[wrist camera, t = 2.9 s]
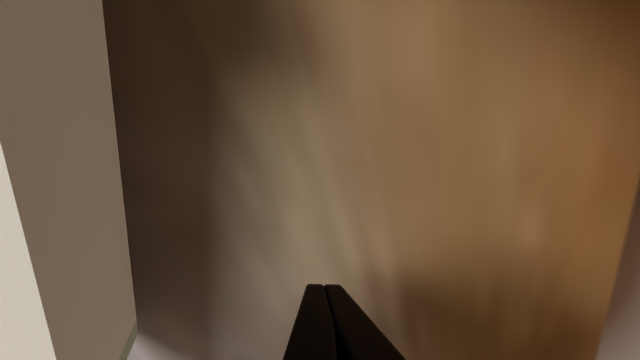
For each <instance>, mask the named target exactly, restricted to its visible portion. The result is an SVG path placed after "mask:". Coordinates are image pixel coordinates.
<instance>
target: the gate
mask: <svg viewBox="0 0 640 360" xmlns="http://www.w3.org/2000/svg"><path fill="white" fill-rule="evenodd" d="M137 334H138V328H137V319H136V310H135V301H134V292H133V282H132V273H131V264H130V255H129V246H128V237H127V227H126V218H125V209H124V200H123V191H122V181H121V172H120V163H119V154H118V145H117V135H116V126H115V117H114V108H113V99H112V89H111V80H110V71H109V62H108V53H107V44H106V34H105V25H104V16H103V7H102V0H0V360H127V358H128V355H129V353H130V350H131V348H132V346H133V343H134V341H135V338H136V336H137Z"/></svg>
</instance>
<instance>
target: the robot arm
mask: <svg viewBox="0 0 640 360" xmlns="http://www.w3.org/2000/svg"><path fill="white" fill-rule="evenodd" d="M283 360H406V359H405V358H404V357H403V356H402V355H401V354H400V353H399V351H398V350H397V349H396V348H395V347H394V346H393V345H392V343H391V342H390V341H389V340H388V339H387V338H386V337H385V335H384V334H383V333H382V332H381V331H380V330H379V329H378V327H377V326H376V325H375V324H374V323H373V322H372V321H371V319H370V318H369V317H368V316H367V315H366V314H365V313H364V311H363V310H362V309H361V308H360V307H359V306H358V304H357V303H356V302H355V301H354V300H353V299H352V298H351V296H350V295H349V294H348V293H347V292H346V291H345V290H344V288H343V287H342V286H340V285H336V284H326V285H324V286H323V285H322V284H308V285H307V286H306V289H305V292H304V295H303V298H302V301H301V304H300V307H299V311H298V314H297V317H296V320H295V323H294V326H293V329H292V332H291V335H290V339H289V342H288V345H287V348H286V351H285V354H284V357H283Z"/></svg>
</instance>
